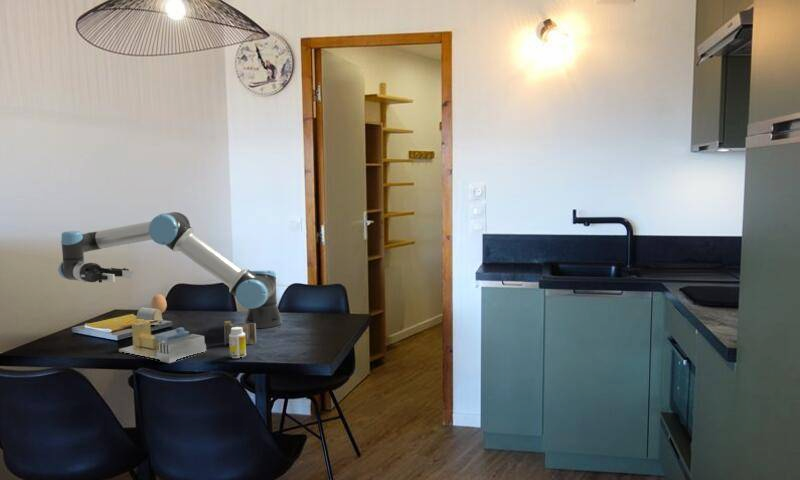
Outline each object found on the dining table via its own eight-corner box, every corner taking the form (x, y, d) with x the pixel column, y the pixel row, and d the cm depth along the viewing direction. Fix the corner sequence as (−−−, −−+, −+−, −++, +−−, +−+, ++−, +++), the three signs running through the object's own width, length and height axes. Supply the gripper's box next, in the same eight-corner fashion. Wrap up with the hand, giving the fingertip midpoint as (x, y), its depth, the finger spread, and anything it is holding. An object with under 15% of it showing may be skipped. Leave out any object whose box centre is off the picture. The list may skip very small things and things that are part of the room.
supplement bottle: (246, 353, 234) (245, 325, 233) (245, 358, 228) (244, 329, 227) (230, 354, 233) (229, 326, 232) (229, 359, 227) (228, 330, 226)
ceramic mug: (154, 327, 276) (153, 309, 275) (136, 327, 277) (135, 309, 276) (167, 322, 286) (166, 304, 285) (150, 321, 287) (149, 304, 287)
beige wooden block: (133, 345, 243) (131, 323, 242) (144, 341, 247) (143, 321, 246) (151, 349, 237) (150, 327, 236) (163, 345, 241) (162, 324, 241)
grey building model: (119, 351, 239) (117, 330, 238) (156, 341, 252) (155, 321, 251) (169, 363, 224) (168, 340, 223) (206, 351, 237) (205, 330, 236)
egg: (149, 313, 303) (148, 294, 302) (163, 311, 308) (162, 292, 307) (155, 315, 298) (154, 296, 297) (169, 313, 303) (168, 294, 302)
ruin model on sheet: (224, 346, 246) (223, 320, 245) (226, 344, 249) (224, 319, 248) (255, 345, 247) (254, 319, 246) (256, 343, 250) (255, 317, 249)
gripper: (112, 277, 267) (148, 282, 255) (63, 285, 250) (99, 290, 238) (111, 259, 267) (146, 263, 254) (62, 266, 250) (98, 270, 237)
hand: (123, 276), depth 246 cm, fingers open, 8 cm apart
